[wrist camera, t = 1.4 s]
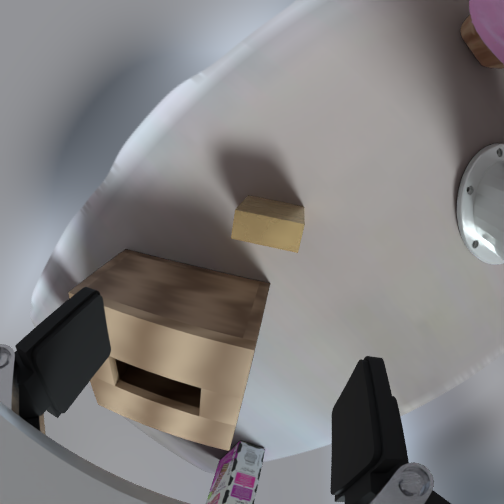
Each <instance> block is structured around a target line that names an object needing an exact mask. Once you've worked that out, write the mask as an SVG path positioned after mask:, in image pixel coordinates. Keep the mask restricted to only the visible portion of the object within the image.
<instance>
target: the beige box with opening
mask: <svg viewBox="0 0 504 504" xmlns="http://www.w3.org/2000/svg"><path fill="white" fill-rule="evenodd" d="M84 287H89V288H92V289H94V290H97V291H99V292H100V295H101V296H102V297H103V302H104V309H105V316H106V323H107V329H108V334H109V340H110V345H111V353H110V356H109V357H108V358H107V360H106V361H105V362H104V363H103V365H102V366H101V367H100V368H99V370H98V371H97V372H96V373H95V375H94V376H93V377H92V379H91V380H90V382H91V385H92V388H93V391H94V394H95V397H96V400H97V403H98V404H99V405H101V406H103V407H105V408H107V409H109V410H111V411H113V412H116V413H118V414H120V415H122V416H125V417H127V418H129V419H132V420H134V421H137V422H139V423H142V424H144V425H147V426H149V427H152V428H155V429H157V430H160V431H163V432H166V433H169V434H172V435H175V436H178V437H181V438H184V439H187V440H190V441H194V442H197V443H200V444H204V445H208V446H211V447H215V448H219V449H223V450H227V451H229V450H230V446H231V442H232V439H233V435H234V431H235V427H236V423H237V420H238V416H239V412H240V408H241V404H242V400H243V396H244V392H245V389H246V384H247V380H248V376H249V372H250V368H251V364H252V360H253V356H254V352H255V347H256V343H257V339H258V335H259V330H260V326H261V322H262V317H263V313H264V309H265V304H266V300H267V296H268V291H269V287H270V283H266V282H261V281H257V280H252V279H248V278H243V277H239V276H235V275H230V274H226V273H222V272H217V271H213V270H209V269H205V268H200V267H196V266H192V265H188V264H184V263H180V262H175V261H171V260H167V259H163V258H159V257H155V256H151V255H147V254H143V253H139V252H135V251H131V250H128V249H125V250H124V251H122V252H121V253H119V254H118V255H117V256H115V257H114V258H113V259H111V260H110V261H109V262H107V263H106V264H105V265H103V266H102V267H101V268H99V269H98V270H97V271H95V272H94V273H93V274H91V275H90V276H89V277H87V278H86V279H85V280H83V281H82V282H81V283H80V284H78V285H77V286H76V287H74V288H73V289H72V290H71V291H69V298H71V297H72V296H73V295H75V294H76V293H77V292H78V291H80V290H81V289H82V288H84Z"/></svg>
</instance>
